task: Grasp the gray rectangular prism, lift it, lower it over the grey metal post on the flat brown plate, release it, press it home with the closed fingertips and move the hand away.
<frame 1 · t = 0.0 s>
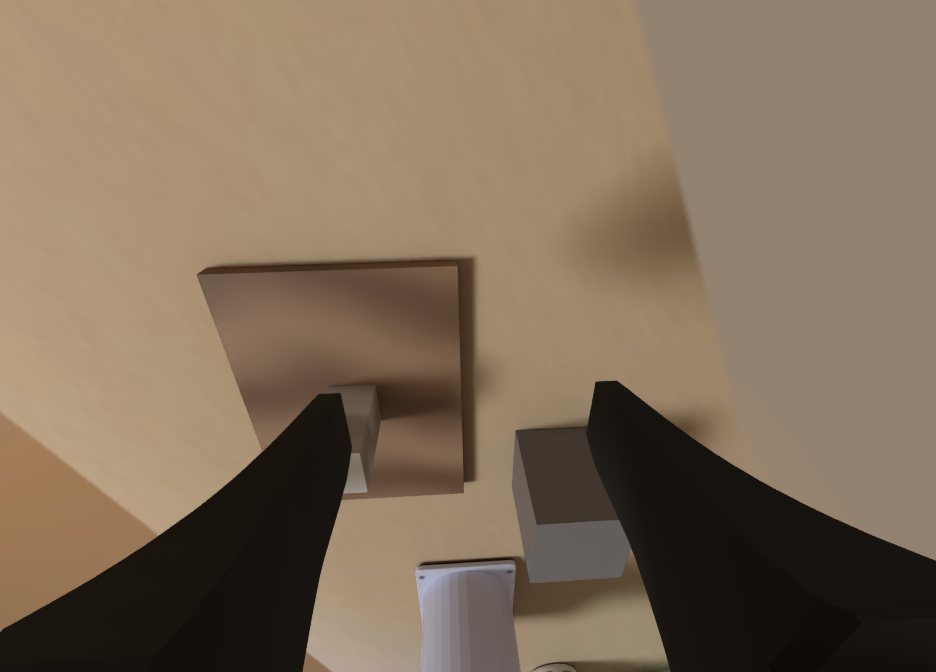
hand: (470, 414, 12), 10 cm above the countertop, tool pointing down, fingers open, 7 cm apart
flat brown plate: (357, 395, 24), on the countertop
gray rectangular prism: (552, 457, 27), on the countertop
supplement bottle: (551, 671, 44), on the countertop
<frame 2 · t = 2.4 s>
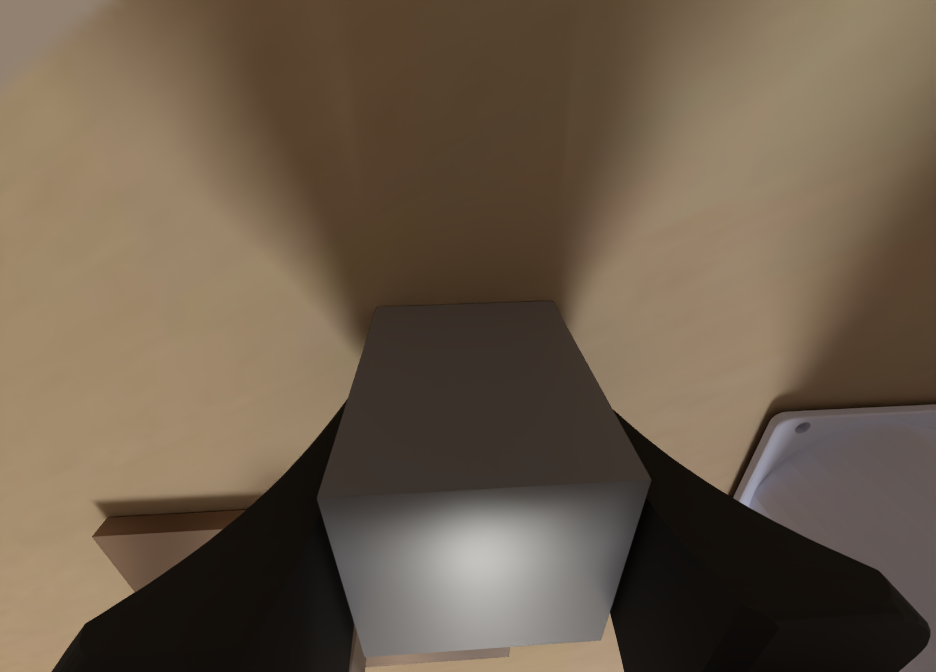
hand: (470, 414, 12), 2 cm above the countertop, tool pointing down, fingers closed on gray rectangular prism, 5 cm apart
flat brown plate: (342, 589, 19), on the countertop
gray rectangular prism: (466, 375, 13), on the countertop, touching gripper
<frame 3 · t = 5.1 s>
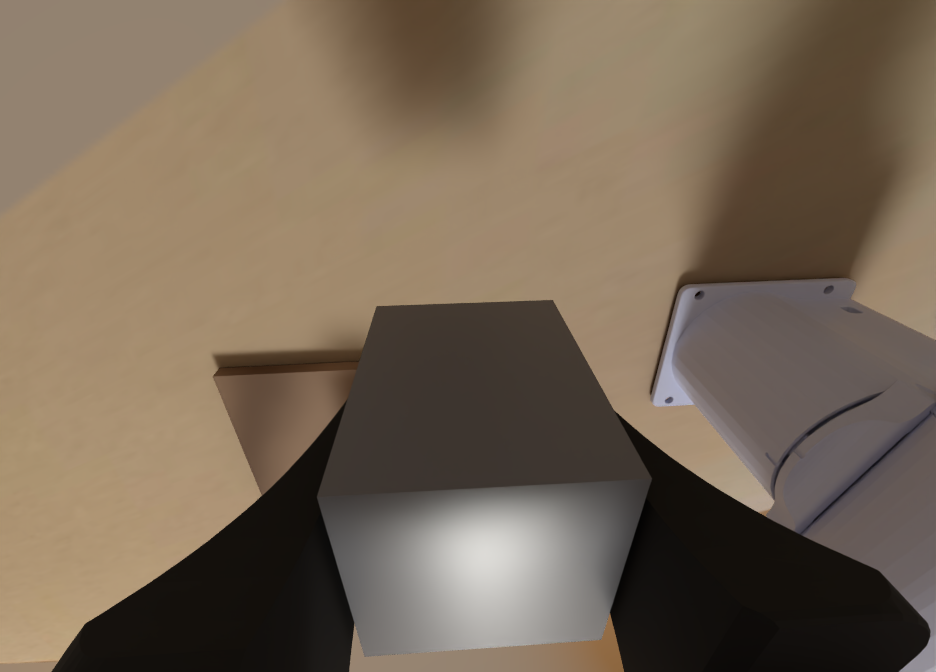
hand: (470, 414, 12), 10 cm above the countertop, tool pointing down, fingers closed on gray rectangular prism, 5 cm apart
flat brown plate: (378, 439, 26), on the countertop
gray rectangular prism: (466, 375, 13), point 8 cm above the countertop, touching gripper
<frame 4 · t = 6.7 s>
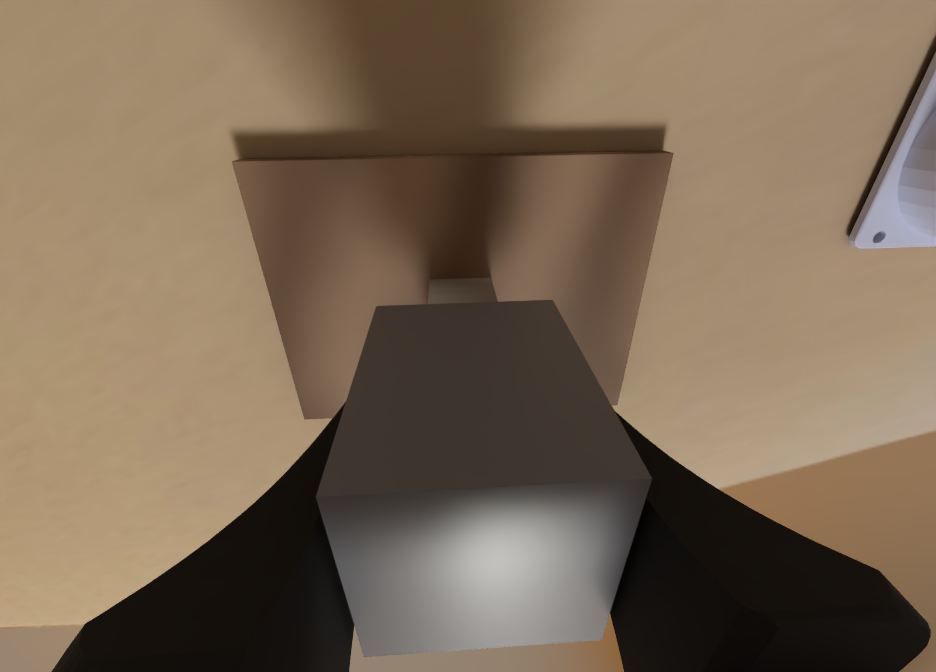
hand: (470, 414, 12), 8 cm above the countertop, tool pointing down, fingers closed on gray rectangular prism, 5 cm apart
flat brown plate: (460, 298, 18), on the countertop
gray rectangular prism: (466, 374, 13), point 6 cm above the countertop, touching gripper
when the fingers open (4 cm above the countertop, at t = 8.1 s): gray rectangular prism stays where it is, resting on flat brown plate.
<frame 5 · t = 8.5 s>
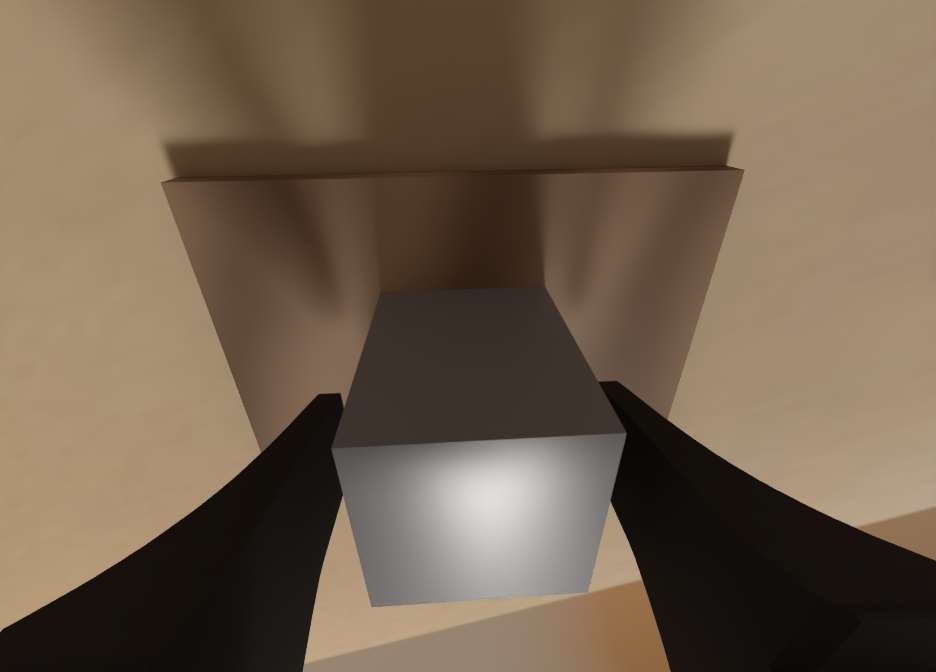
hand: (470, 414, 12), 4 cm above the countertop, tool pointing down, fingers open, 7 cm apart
flat brown plate: (464, 346, 15), on the countertop
gray rectangular prism: (465, 358, 14), point 1 cm above the countertop, touching flat brown plate
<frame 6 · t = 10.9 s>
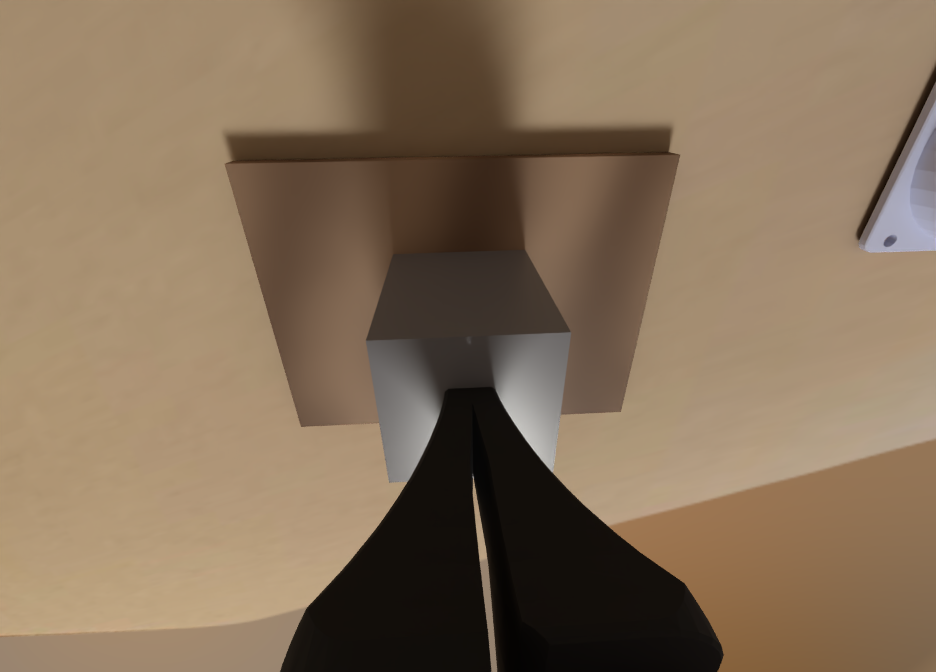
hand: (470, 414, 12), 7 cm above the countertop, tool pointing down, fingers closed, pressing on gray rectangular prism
flat brown plate: (460, 303, 18), on the countertop
gray rectangular prism: (461, 311, 17), point 1 cm above the countertop, touching gripper, flat brown plate
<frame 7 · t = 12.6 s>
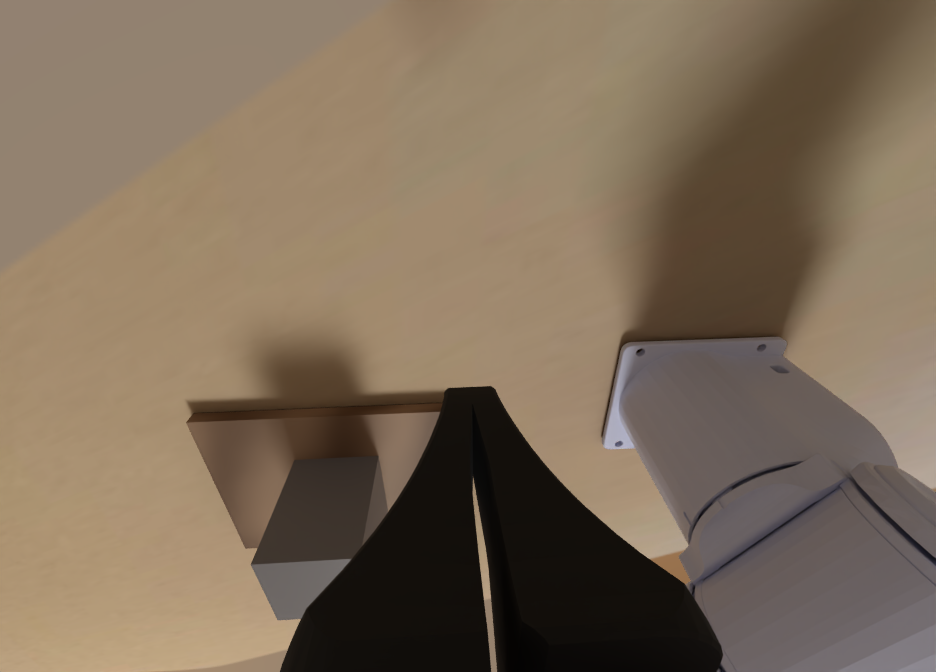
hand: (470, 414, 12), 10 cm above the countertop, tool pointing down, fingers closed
flat brown plate: (346, 476, 27), on the countertop
gray rectangular prism: (343, 486, 27), point 1 cm above the countertop, touching flat brown plate
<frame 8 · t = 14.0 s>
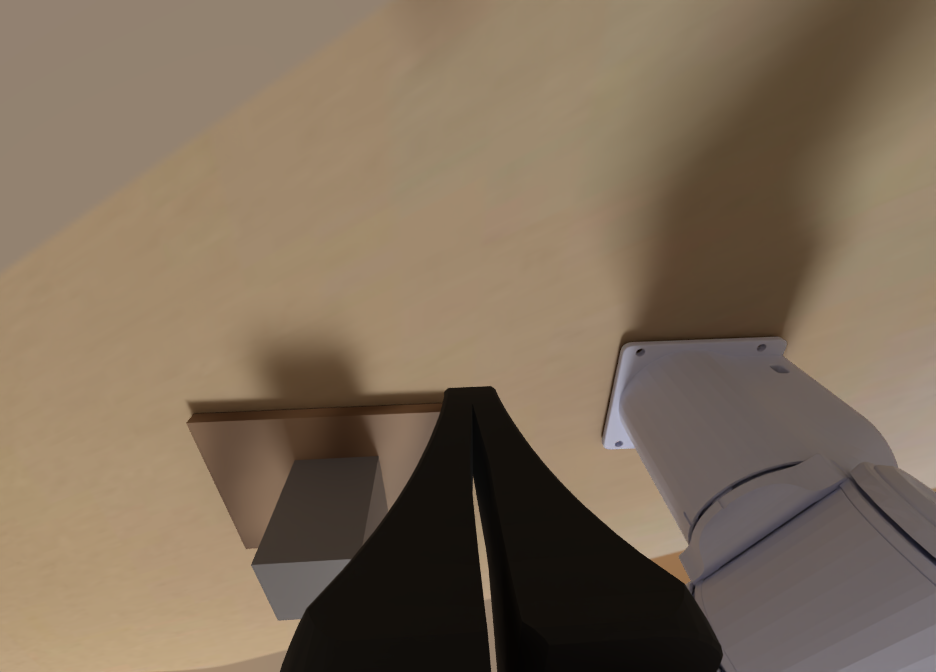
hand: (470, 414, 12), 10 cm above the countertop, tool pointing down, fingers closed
flat brown plate: (346, 477, 27), on the countertop
gray rectangular prism: (343, 486, 27), point 1 cm above the countertop, touching flat brown plate
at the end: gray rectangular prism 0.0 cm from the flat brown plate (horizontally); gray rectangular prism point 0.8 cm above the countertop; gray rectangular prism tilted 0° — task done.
